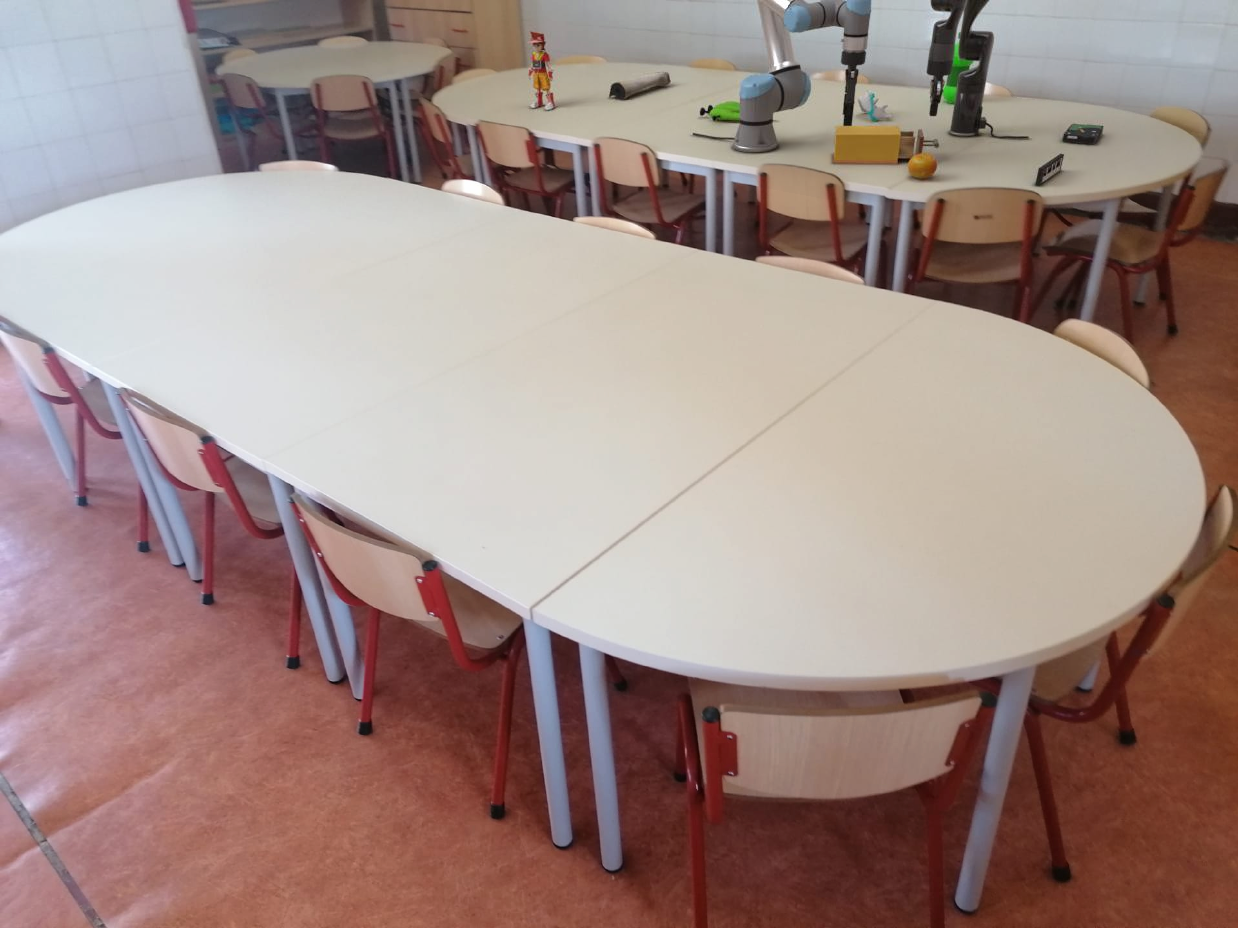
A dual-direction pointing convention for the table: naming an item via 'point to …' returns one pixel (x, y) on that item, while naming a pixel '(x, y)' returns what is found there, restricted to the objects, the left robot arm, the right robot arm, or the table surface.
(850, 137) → the cabinet
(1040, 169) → the midi keyboard
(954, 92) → the plastic bottle
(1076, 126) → the disk drive
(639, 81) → the rolled mat
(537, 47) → the toy
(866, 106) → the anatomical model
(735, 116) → the toy
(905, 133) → the drawer
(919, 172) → the fruit
